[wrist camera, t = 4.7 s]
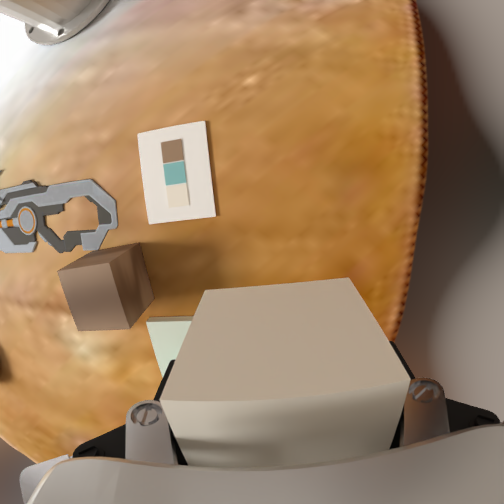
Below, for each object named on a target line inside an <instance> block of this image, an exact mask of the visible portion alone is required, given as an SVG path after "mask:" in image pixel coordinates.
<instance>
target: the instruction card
mask: <svg viewBox="0 0 504 504" xmlns="http://www.w3.org/2000/svg"><path fill="white" fill-rule="evenodd" d="M138 145H139V154H140V163H141V172H142V180H143V187H144V195H145V202H146V208H147V215H148V221H149V224H156V223H164V222H172V221H180V220H189V219H198V218H207V217H216V210H215V202H214V194H213V186H212V177H211V169H210V160H209V151H208V142H207V132H206V123H205V121H200V122H194V123H188V124H183V125H177V126H172V127H167V128H162V129H157V130H152V131H148V132H143V133H139V134H138Z"/></svg>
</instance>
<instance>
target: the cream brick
mask: <svg viewBox="0 0 504 504" xmlns="http://www.w3.org/2000/svg"><path fill="white" fill-rule="evenodd" d="M410 380H411V379H410V377H409V375H408V373H407V372H406V370H405V368H404V366H403V365H402V363H401V361H400V359H399V358H398V356H397V354H396V353H395V351H394V349H393V348H392V346H391V344H390V343H389V341H388V339H387V338H386V336H385V334H384V333H383V331H382V329H381V328H380V326H379V324H378V323H377V321H376V320H375V318H374V316H373V315H372V313H371V312H370V310H369V308H368V307H367V305H366V304H365V302H364V300H363V299H362V297H361V296H360V294H359V293H358V291H357V290H356V288H355V286H354V285H353V283H352V282H351V280H350V279H349V278H340V279H330V280H320V281H310V282H299V283H288V284H277V285H265V286H253V287H240V288H227V289H213V290H205V291H204V294H203V296H202V298H201V301H200V303H199V305H198V308H197V310H196V312H195V315H194V317H193V319H192V322H191V324H190V326H189V329H188V331H187V334H186V336H185V338H184V341H183V343H182V346H181V348H180V350H179V353H178V355H177V358H176V360H175V362H174V365H173V367H172V370H171V372H170V375H169V377H168V380H167V382H166V385H165V387H164V390H163V392H162V395H161V397H160V403H161V405H162V408H163V410H164V412H165V415H166V417H167V420H168V422H169V424H170V427H171V429H172V431H173V433H174V436H175V438H176V440H177V442H178V445H179V447H180V449H181V451H182V453H183V455H184V457H185V459H186V461H187V463H188V466H201V467H272V466H288V465H299V464H309V463H318V462H326V461H333V460H339V459H346V458H352V457H357V456H362V455H368V454H372V453H377V452H382V451H386V450H389V449H390V446H391V443H392V440H393V437H394V434H395V432H396V428H397V425H398V422H399V419H400V416H401V413H402V409H403V406H404V402H405V399H406V395H407V392H408V388H409V384H410Z"/></svg>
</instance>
